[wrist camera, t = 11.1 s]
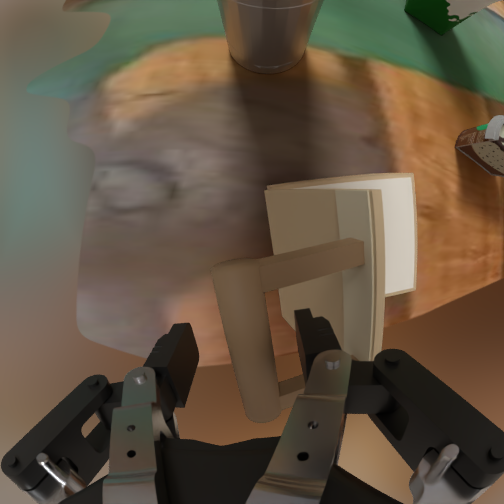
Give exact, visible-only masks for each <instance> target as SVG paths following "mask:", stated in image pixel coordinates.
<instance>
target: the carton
mask: <svg viewBox="0 0 504 504" xmlns="http://www.w3.org/2000/svg"><path fill="white" fill-rule="evenodd" d="M273 189H381V191H382V202H383V215H384V232H385V297H388V296H393V295H397V294H402V293H406V292H410V291H414V290H416V276H417V213H416V196H415V184H414V174H413V173H375V174H363V175H351V176H341V177H331V178H321V179H313V180H304V181H296V182H289V183H281V184H274V185H267V190H273Z"/></svg>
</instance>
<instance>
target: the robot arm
mask: <svg viewBox="0 0 504 504" xmlns="http://www.w3.org/2000/svg"><path fill="white" fill-rule="evenodd" d="M323 1H324V0H217V2H218V6H219V10H220V14H221V18H222V22H223V26H224V30H225V34H226V38H227V42H228V47H229V51H230V53H231V55H232V57H233V58H234V60H235V61H236V62H237V63H238V64H240V65H241V66H242V67H244V68H246V69H248V70H250V71H253V72H257V73H264V74H274V73H279V72H283V71H285V70H288V69H290V68H292V67H293V66H295V65H296V64H297V63H298V62H299V61H300V59H301V58H302V56H303V54H304V51H305V48H306V46H307V43H308V41H309V38H310V35H311V32H312V30H313V27H314V24H315V22H316V19H317V16H318V14H319V11H320V9H321V6H322V3H323ZM294 318H295V328H296V338H297V346H298V352H299V357H300V361H301V366H302V371H303V376H304V381H305V386H306V387H305V390H304V392H303V394H298V395H297V397H296V400H295V402H294V405H293V408H292V410H291V413H290V415H289V418H288V421H287V423H286V426H285V428H284V431H283V433H282V435H281V436H279V437H269V438H256V439H251V440H247V441H243V442H239V443H234V444H230V445H225V446H219V445H214V444H209V443H205V442H201V441H197V440H190V439H189V440H188V439H180V437H179V431H178V425H177V420H176V416H175V414H174V409H175V407H180V408H184V407H185V404H186V401H187V398H188V394H189V391H190V388H191V385H192V381H193V378H194V375H195V372H196V368H197V365H198V362H199V351H198V347H197V344H196V341H195V337H194V334H193V330H192V327H191V325H190V323H178V324H173V326H172V328H171V330H170V332H169V333H168V334H165V335H163V336H162V337H161V338H160V339H159V340H158V341H157V343H156V344H155V347H154V348H153V350H152V353H150V355H149V357H148V358H147V360H146V362H145V364H144V365H143V367H138V368H135V369H133V370H131V371H130V372H128V373H127V375H126V376H125V378H124V381H123V382H117V383H112V384H110V383H109V382H108V380H107V378H106V377H105V376H104V375H93V376H90V377H88V378H86V379H85V380H84V381H83V382H82V383H81V384H79V385H78V386H77V387H76V388H75V389H74V390H73V391H72V392H71V393H70V394H69V395H68V396H66V398H64V399H63V400H62V401H61V402H60V403H59V404H58V405H57V406H56V407H55V408H54V409H53V410H51V411H50V412H49V413H48V414H47V415H46V416H45V417H44V418H43V419H42V420H41V421H40V422H39V423H38V424H37V425H36V426H35V427H33V428H32V429H31V430H30V431H29V433H27V434H26V435H25V436H24V437H23V438H22V439H21V440H20V441H19V442H18V443H17V444H16V445H15V446H14V447H13V448H12V449H11V450H10V451H9V452H7V453H6V454H5V456H4V457H3V459H2V462H1V468H2V471H3V472H4V474H5V475H6V476H7V477H9V478H10V479H11V480H12V481H13V482H14V483H15V484H17V486H18V487H19V488H20V489H21V490H22V491H23V492H25V493H26V494H27V495H28V496H29V497H31V498H32V499H33V500H34V501H36V502H37V503H39V504H403V503H401V502H399V501H397V500H395V499H393V498H392V497H390V496H388V495H386V494H384V493H382V492H380V491H379V490H377V489H375V488H373V487H372V486H370V485H368V484H367V483H365V482H363V481H361V480H360V479H358V478H357V477H355V476H354V475H352V474H350V473H349V472H347V471H345V470H344V469H343V468H341V467H340V466H338V460H339V455H340V450H341V444H342V439H343V434H344V429H345V424H346V418H347V414H368V416H369V417H370V419H371V420H372V421H373V422H374V424H375V425H376V426H377V427H378V428H379V430H380V431H381V432H382V433H383V435H384V436H385V437H386V438H387V440H388V441H389V442H390V443H391V444H392V446H393V447H394V448H395V449H396V451H397V452H398V453H399V454H400V455H401V456H402V458H403V459H404V460H405V461H406V463H407V464H408V465H409V466H410V468H411V469H412V470H413V471H414V473H413V474H412V476H411V478H410V481H409V488H410V491H411V493H412V495H413V504H471V503H472V502H474V501H475V500H476V499H477V498H478V497H479V496H480V495H481V494H483V493H484V492H485V491H486V490H487V489H488V488H489V487H490V486H491V485H492V484H493V483H494V482H495V481H496V480H497V479H498V478H499V477H500V476H501V475H502V474H503V473H504V432H503V431H502V430H501V429H500V428H498V427H497V426H496V425H495V424H494V423H492V422H491V421H490V420H489V419H488V418H486V417H485V416H484V415H483V414H481V413H480V412H479V411H478V410H477V409H475V408H474V407H473V406H472V405H471V404H469V403H468V402H467V401H466V400H464V399H463V398H462V397H461V396H460V395H458V394H457V393H456V392H455V391H453V390H452V389H451V388H450V387H448V386H447V385H446V384H445V383H444V382H442V381H441V380H440V379H438V378H437V377H436V376H435V375H434V374H432V373H431V372H430V371H429V370H427V369H426V368H425V367H424V366H422V365H421V364H420V363H419V362H417V361H416V360H415V359H413V358H412V357H411V356H410V355H408V354H407V353H406V352H404V351H402V350H398V349H387V350H383V351H381V352H379V353H378V354H377V355H376V356H375V357H374V361H356V360H353V359H351V356H350V355H349V354H348V353H346V352H344V351H342V349H341V346H340V344H339V342H338V340H337V337H336V335H335V334H334V331H333V329H332V326H331V324H330V322H329V321H328V320H327V319H325V318H324V317H323V316H320V317H314V318H313V316H312V313H311V311H310V308H305V309H299V310H294ZM94 413H96V415H97V417H98V418H99V419H100V423H99V424H98V425H97V426H96V427H95V428H94V429H93V430H92V431H91V433H90V434H89V435H88V436H87V437H86V438H84V436H83V435H82V432H81V428H82V426H83V424H84V423H85V422H86V421H87V420H88V419H89V418H90V417H91V416H92V415H93V414H94ZM108 459H109V474H108V475H106V476H104V477H102V478H101V479H99V480H97V481H96V482H94V483H93V484H91V485H89V483H90V482H91V481H92V480H93V478H94V477H95V476H96V474H97V473H98V472H99V471H100V469H101V468H102V467H103V466H104V464H105V463H106V462H107V460H108ZM88 485H89V486H88Z"/></svg>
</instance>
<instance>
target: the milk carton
mask: <svg viewBox="0 0 504 504" xmlns="http://www.w3.org/2000/svg"><path fill="white" fill-rule="evenodd" d="M498 1H502V0H406V5H405V9H404V11H406V12H407V13H409V14H411V15H412V16H414V17H415V18H417V19H419V20H420V21H422V22H423V23H424V24H426V25H427V26H429V27H430V28H432V29H433V30H434V31H436V32H437V33H439V34H440V35H441V36H442V35H443V34H445V33H446V32H448V31H449V30H450V29H452V28H453V27H455V26H456V25H458V24H459V23H461V22H462V21H464V20H465V19H467V18H469V17H470V16H472V15H474V14H475V13H477V12H478V11H480V10H482V9H484V8H485V7H487V6H489V5H490V4H492V3H495V2H498Z"/></svg>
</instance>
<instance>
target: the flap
mask: <svg viewBox="0 0 504 504" xmlns="http://www.w3.org/2000/svg"><path fill="white" fill-rule="evenodd" d="M264 193H265V200H266V206H267V213H268V219H269V226H270V233H271V240H272V246H273V253H274V255H273V256H269V257H265V258H260V259H254V258H239V259H233V260H228V261H225V262H222V263H219V264H217V265H215V266H213V267H212V268H211V274H212V279H213V284H214V288H215V293H216V297H217V302H218V306H219V311H220V315H221V319H222V324H223V328H224V332H225V336H226V340H227V344H228V348H229V352H230V356H231V360H232V364H233V368H234V372H235V376H236V380H237V383H238V387H239V391H240V394H241V398H242V402H243V405H244V409H245V413H246V416H247V417H248V418H249V419H250V420H251V421H253V422H257V423H266V422H270V421H272V420H274V419H275V418H277V417H278V416H279V415H280V413H281V411H282V410H283V409H286V408H289V407H292V406H293V405H294V402H295V400H296V397H297V395H298V394H303V392H304V390H305V387H306V386H305V381H304V376H303V374H302V375H299V376H297V377H294V378H291V379H288V380H285V381H282V382H279V383H278V379H277V372H276V366H275V359H274V352H273V346H272V339H271V333H270V326H269V320H268V313H267V307H266V300H265V294H264V293H265V292H268V291H272V290H276V289H279V297H280V304H281V312H282V317H283V318H284V319H285V320H286V321H287V322H288V324H289V325H290V326H291V327H292V328H293V329H294V330H295V331H296V328H295V318H294V310H299V309H305V308H310V311H311V313H312V316H313V318H314V317H320V316H323V317H324V318H325V319H327V320H328V321H329V322H330V324H331V326H332V329H333V331H334V334H335V335H336V337H337V340H338V342H339V344H340V346H341V349H342V351H344V352H346V353H348V354H349V355H350V356H351V359H353V360H356V361H374V357H375V356H376V355H377V354H378V353H379V352H381V348H382V337H383V325H384V308H385V232H384V215H383V202H382V191H381V189H273V190H264Z"/></svg>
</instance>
